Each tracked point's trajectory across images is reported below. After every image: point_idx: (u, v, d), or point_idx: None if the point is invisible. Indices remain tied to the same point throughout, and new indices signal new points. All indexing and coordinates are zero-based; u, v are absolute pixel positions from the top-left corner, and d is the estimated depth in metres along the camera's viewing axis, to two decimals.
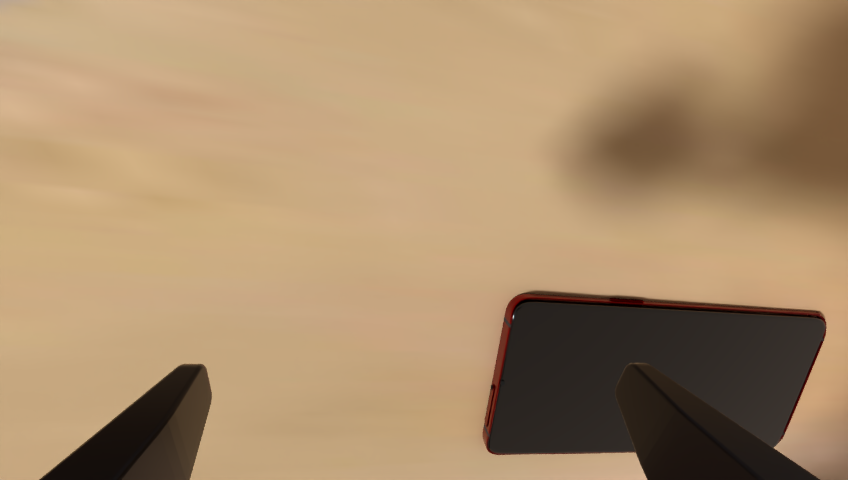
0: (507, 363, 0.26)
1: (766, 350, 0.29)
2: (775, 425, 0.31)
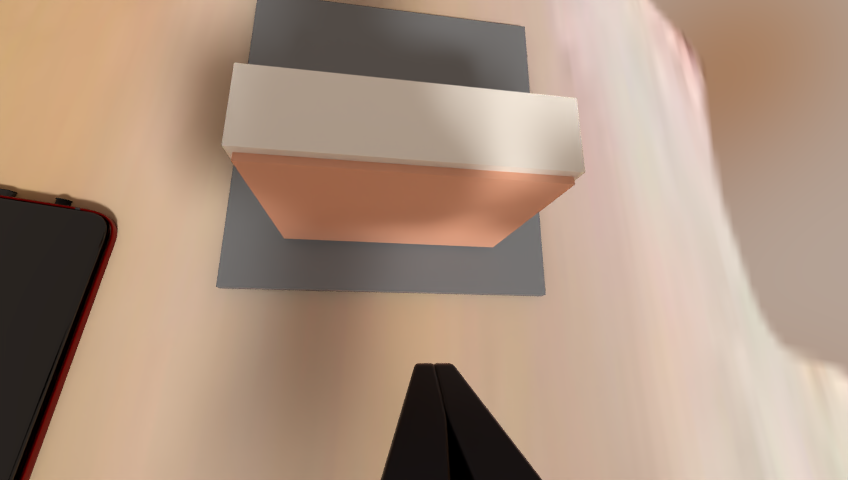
0: None
1: None
2: (51, 226, 0.20)
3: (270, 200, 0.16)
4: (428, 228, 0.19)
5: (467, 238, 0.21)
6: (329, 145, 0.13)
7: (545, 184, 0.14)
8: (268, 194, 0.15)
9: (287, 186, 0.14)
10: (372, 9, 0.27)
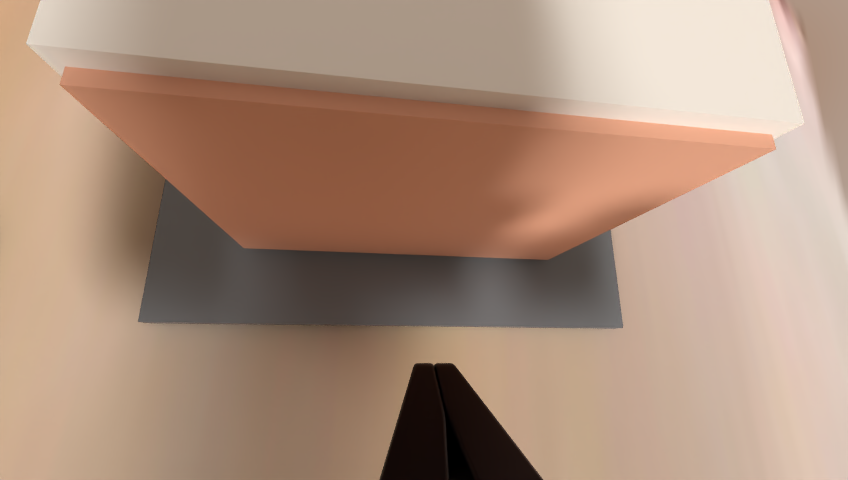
0: None
1: None
2: None
3: (195, 185, 0.09)
4: (462, 233, 0.12)
5: (517, 248, 0.14)
6: (285, 53, 0.06)
7: (718, 149, 0.07)
8: (185, 172, 0.08)
9: (213, 154, 0.07)
10: None
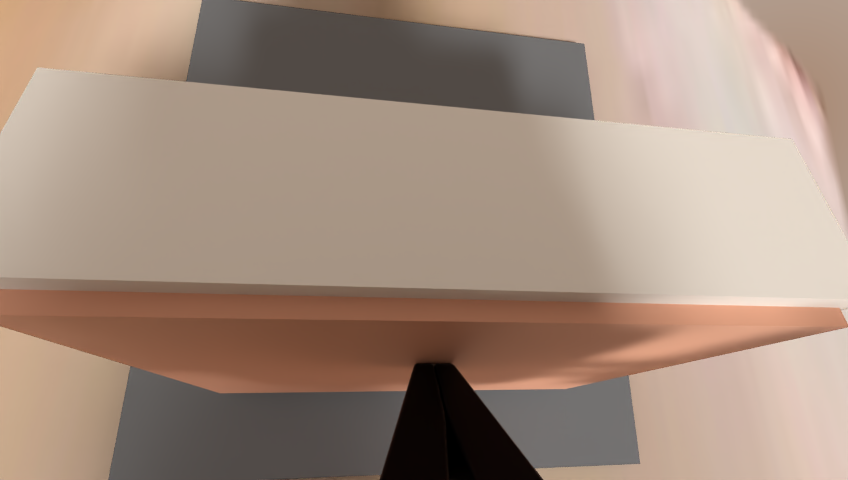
0: None
1: None
2: None
3: (154, 364, 0.07)
4: (470, 379, 0.11)
5: (531, 384, 0.12)
6: (256, 260, 0.05)
7: (780, 329, 0.06)
8: (140, 358, 0.07)
9: (171, 348, 0.06)
10: (370, 20, 0.18)
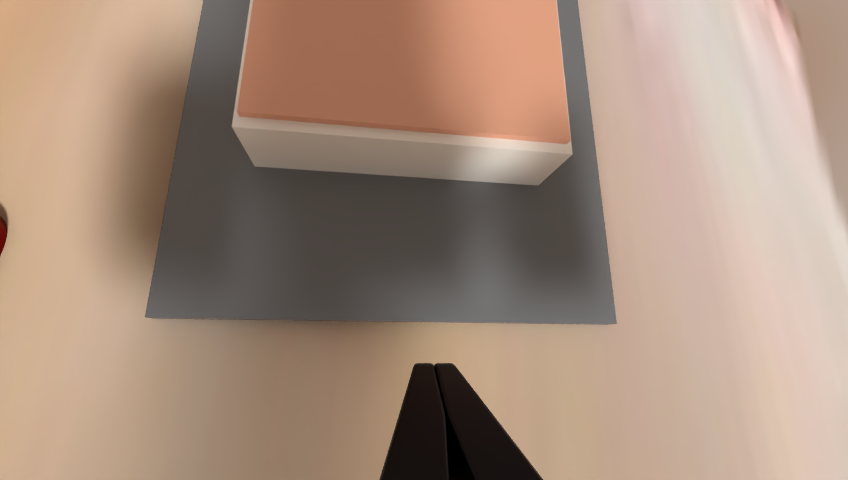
0: None
1: None
2: None
3: None
4: (455, 57, 0.15)
5: (517, 96, 0.15)
6: None
7: None
8: None
9: None
10: None
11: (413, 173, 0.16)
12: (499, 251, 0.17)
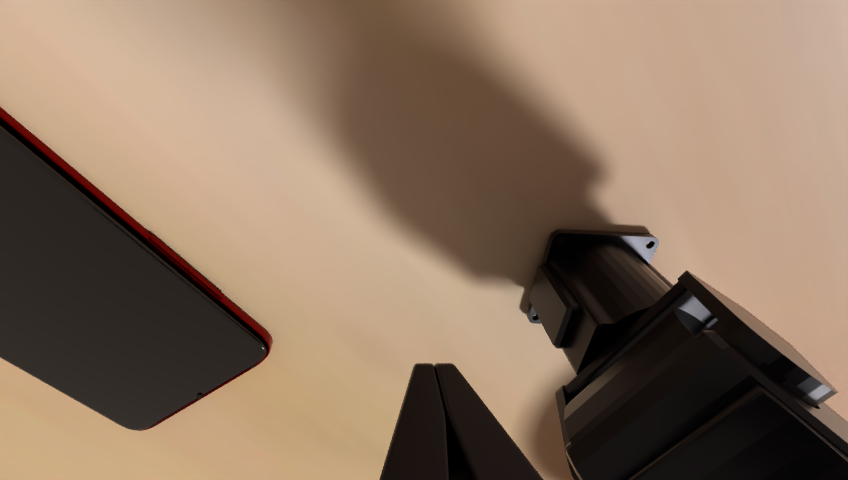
0: (181, 404, 0.25)
1: None
2: None
3: None
4: None
5: None
6: None
7: None
8: None
9: None
10: None
11: None
12: None
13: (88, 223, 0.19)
